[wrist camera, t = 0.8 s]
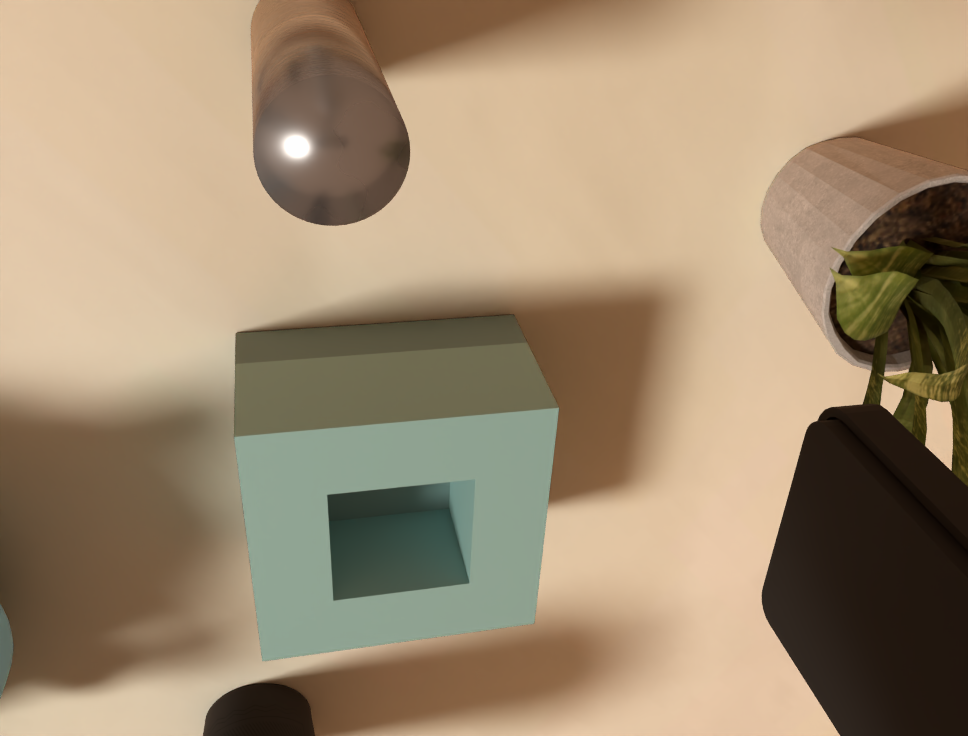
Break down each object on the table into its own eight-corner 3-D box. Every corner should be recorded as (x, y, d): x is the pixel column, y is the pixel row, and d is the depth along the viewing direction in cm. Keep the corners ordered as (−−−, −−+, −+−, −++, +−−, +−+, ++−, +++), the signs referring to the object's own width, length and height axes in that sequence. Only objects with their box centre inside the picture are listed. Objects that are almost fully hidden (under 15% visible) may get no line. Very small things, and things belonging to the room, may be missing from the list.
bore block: (235, 333, 32) (233, 436, 27) (513, 314, 34) (558, 407, 29) (260, 543, 37) (262, 661, 32) (498, 516, 39) (534, 623, 34)
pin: (246, -23, 26) (246, 76, 18) (359, -22, 26) (410, 74, 18) (255, 90, 28) (260, 229, 19) (362, 89, 28) (409, 222, 20)
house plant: (560, 347, 35) (752, 704, 22) (692, -29, 28) (1088, 156, 15) (861, 384, 40) (1171, 698, 26) (1037, 67, 33) (1574, 274, 20)
